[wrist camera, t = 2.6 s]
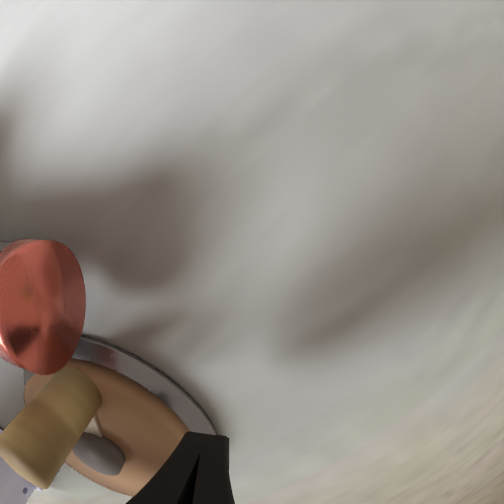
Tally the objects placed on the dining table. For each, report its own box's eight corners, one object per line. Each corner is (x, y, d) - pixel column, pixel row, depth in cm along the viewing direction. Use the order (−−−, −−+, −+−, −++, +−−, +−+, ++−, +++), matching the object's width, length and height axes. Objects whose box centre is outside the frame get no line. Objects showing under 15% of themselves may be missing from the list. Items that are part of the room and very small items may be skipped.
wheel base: (222, 500, 15) (222, 504, 14) (62, 458, 15) (60, 460, 15) (219, 357, 12) (217, 361, 11) (3, 315, 12) (0, 317, 12)
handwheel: (205, 497, 14) (188, 578, 8) (65, 458, 14) (28, 518, 9) (192, 373, 11) (143, 503, 5) (12, 332, 12) (-64, 393, 6)
